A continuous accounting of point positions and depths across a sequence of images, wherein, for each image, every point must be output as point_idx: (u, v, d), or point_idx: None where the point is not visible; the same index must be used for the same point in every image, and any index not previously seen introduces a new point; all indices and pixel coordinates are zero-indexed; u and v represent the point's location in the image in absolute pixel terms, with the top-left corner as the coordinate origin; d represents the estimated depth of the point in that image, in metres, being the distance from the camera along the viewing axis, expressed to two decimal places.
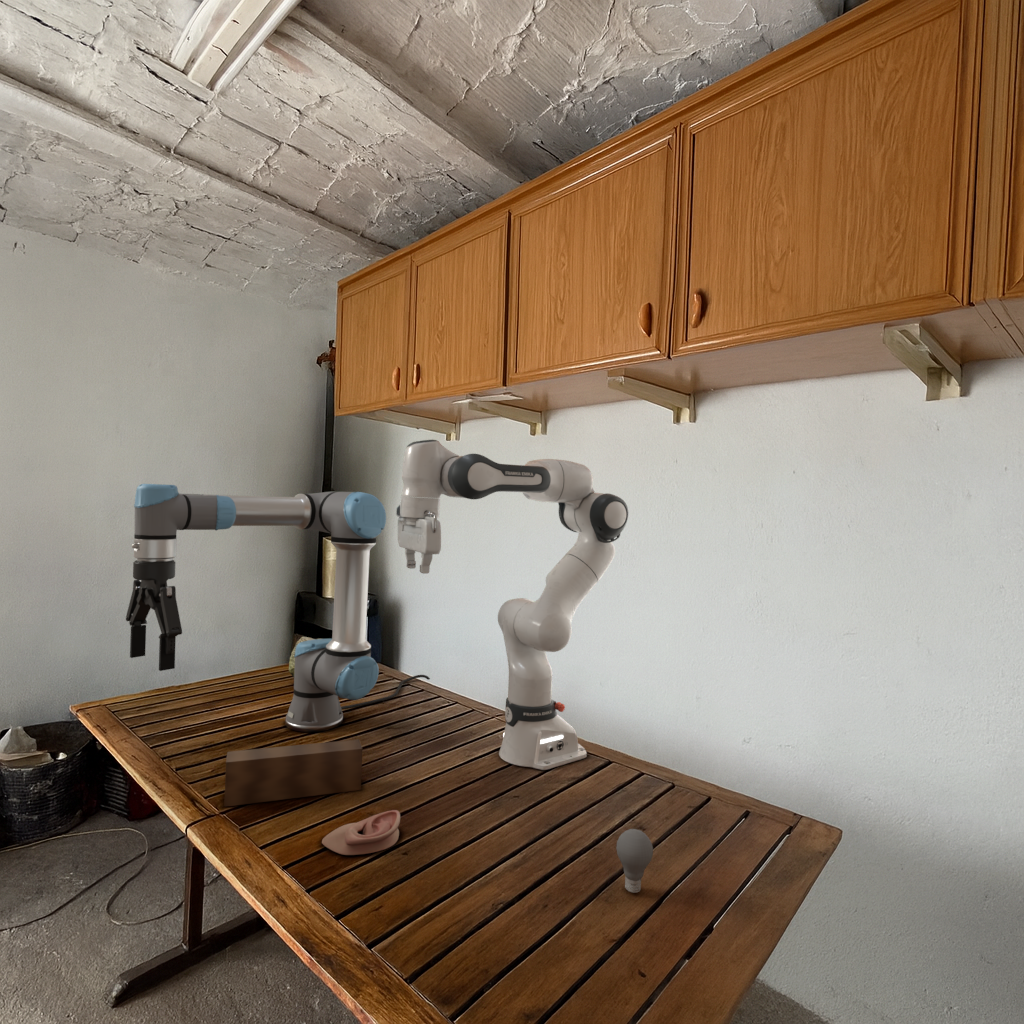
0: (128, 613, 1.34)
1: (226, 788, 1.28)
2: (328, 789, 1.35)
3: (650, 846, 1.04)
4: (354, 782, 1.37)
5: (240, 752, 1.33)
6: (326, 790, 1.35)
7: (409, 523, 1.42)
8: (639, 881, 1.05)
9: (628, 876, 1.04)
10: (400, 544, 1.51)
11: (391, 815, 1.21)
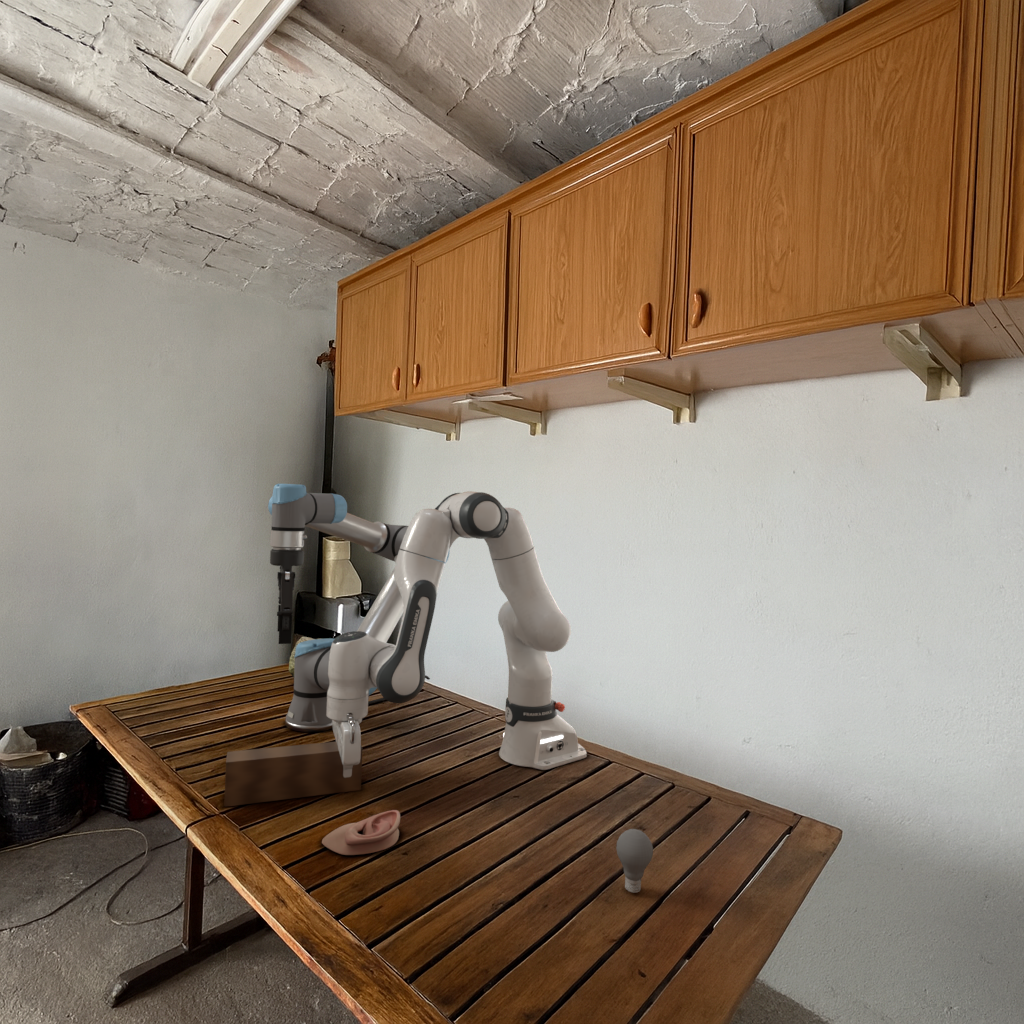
0: None
1: (226, 788, 1.28)
2: (328, 789, 1.35)
3: (650, 846, 1.04)
4: (354, 782, 1.37)
5: (240, 752, 1.33)
6: (326, 790, 1.35)
7: (334, 723, 1.37)
8: (639, 881, 1.05)
9: (628, 876, 1.04)
10: None
11: (391, 815, 1.21)
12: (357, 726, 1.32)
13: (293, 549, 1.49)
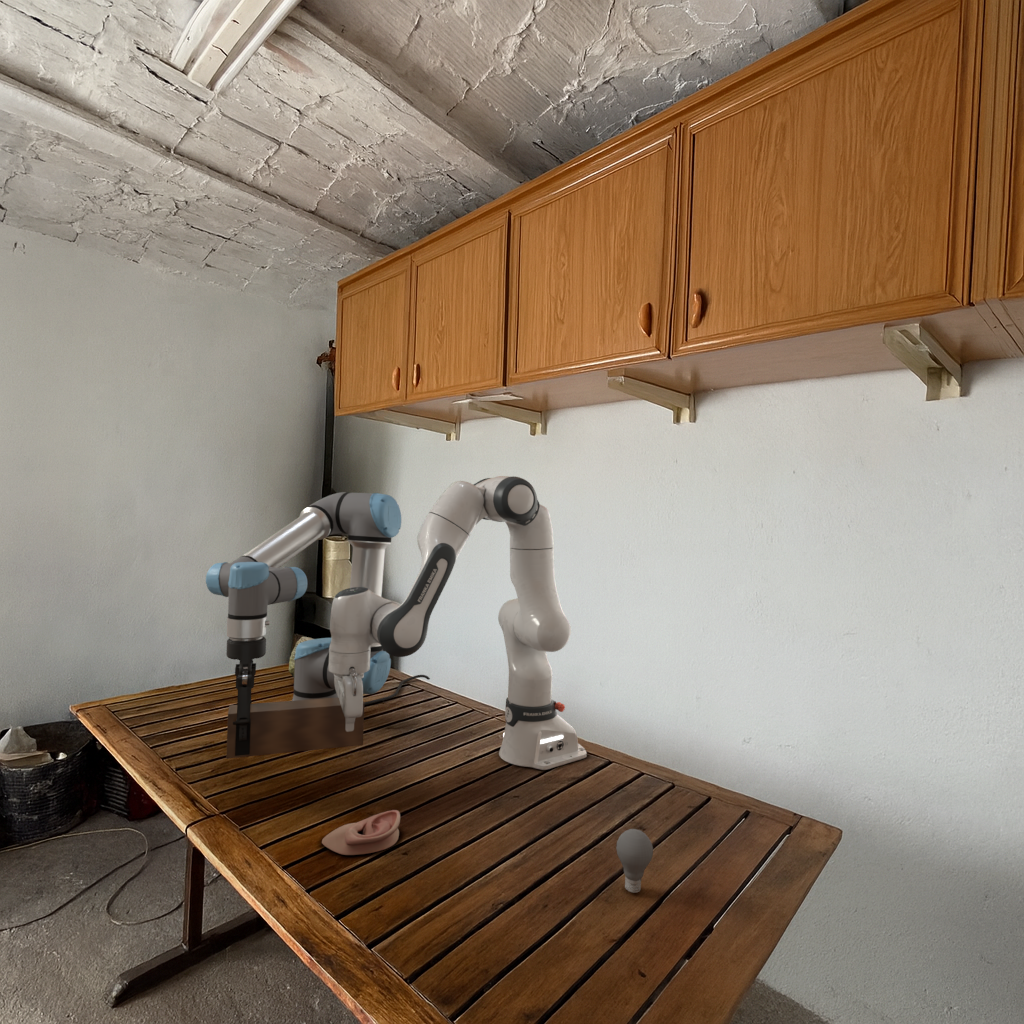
0: None
1: (228, 740, 1.28)
2: (330, 743, 1.35)
3: (650, 846, 1.04)
4: (356, 737, 1.37)
5: None
6: (328, 744, 1.35)
7: (336, 678, 1.36)
8: (639, 881, 1.05)
9: (628, 876, 1.04)
10: None
11: (391, 815, 1.21)
12: (359, 679, 1.32)
13: (253, 640, 1.29)
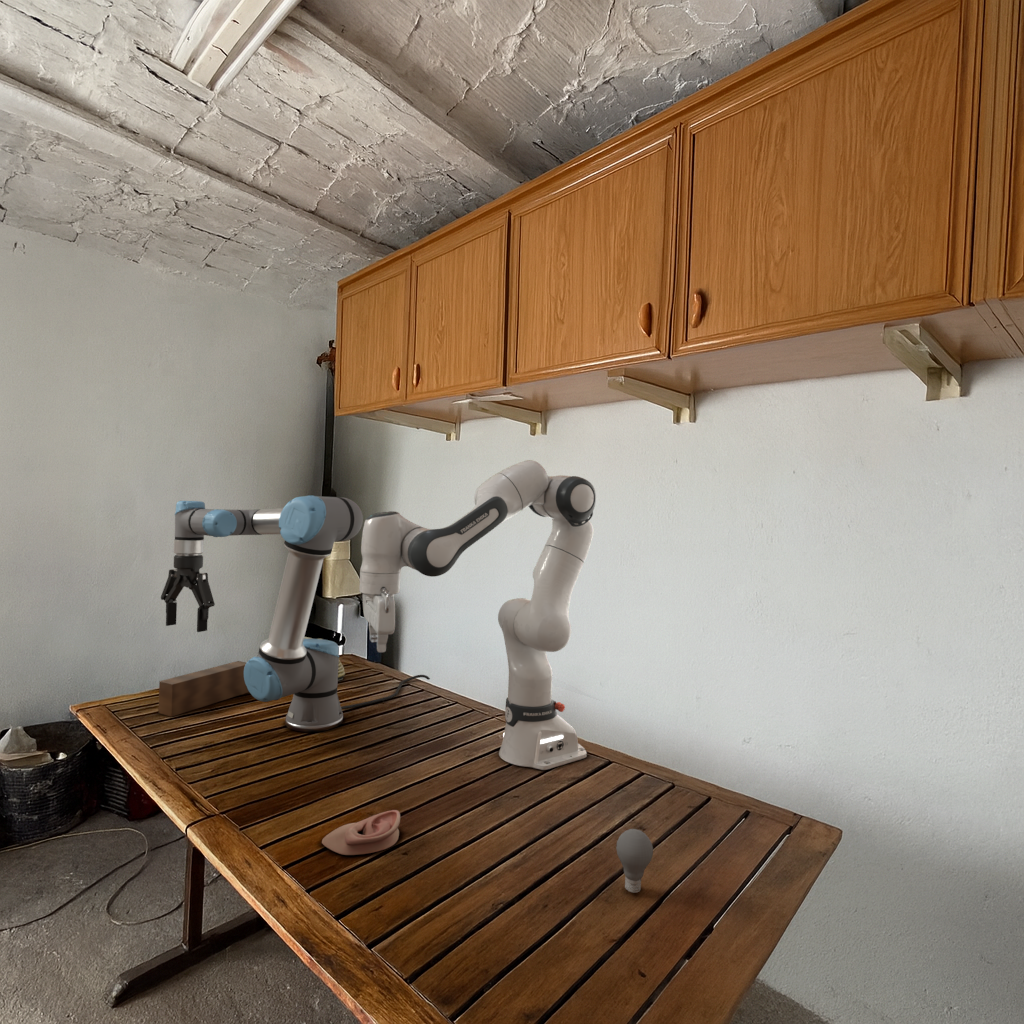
0: None
1: (172, 703, 1.76)
2: (232, 694, 1.94)
3: (650, 846, 1.04)
4: (246, 687, 1.99)
5: (170, 679, 1.80)
6: (231, 695, 1.94)
7: (367, 599, 1.38)
8: (639, 881, 1.05)
9: (628, 876, 1.04)
10: (364, 616, 1.47)
11: (391, 815, 1.21)
12: (391, 597, 1.34)
13: (199, 554, 1.82)
